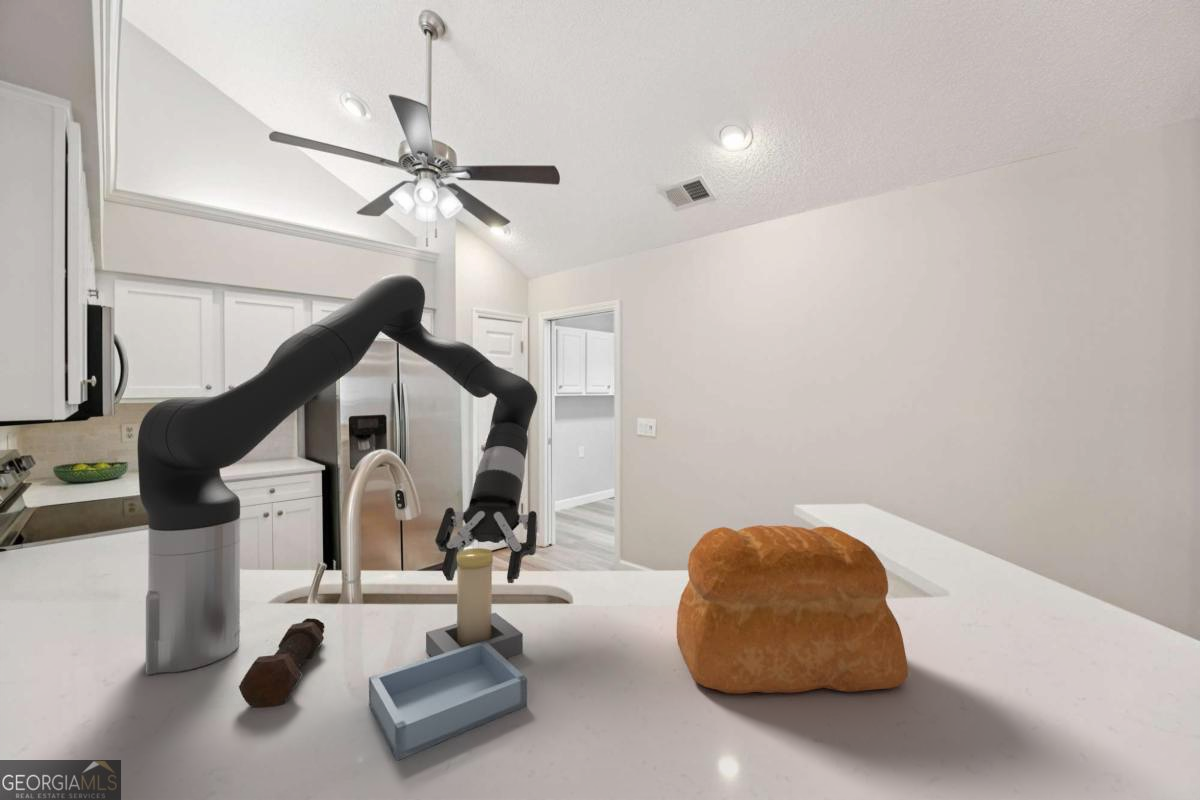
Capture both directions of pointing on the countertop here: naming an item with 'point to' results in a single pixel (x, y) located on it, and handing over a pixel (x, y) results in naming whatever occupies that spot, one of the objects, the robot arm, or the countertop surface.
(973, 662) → the countertop surface
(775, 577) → the bread
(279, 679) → the bolt
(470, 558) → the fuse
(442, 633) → the fuse holder
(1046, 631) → the countertop surface
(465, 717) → the parts tray
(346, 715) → the countertop surface
